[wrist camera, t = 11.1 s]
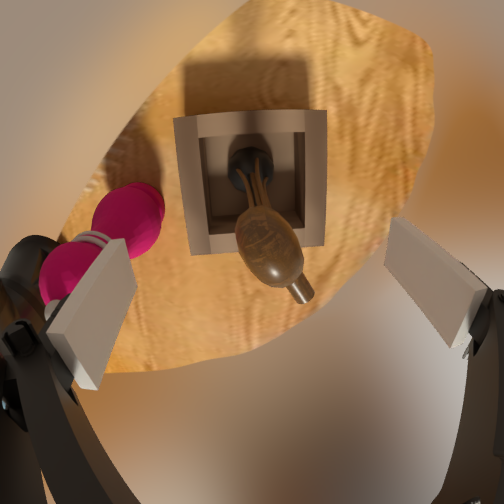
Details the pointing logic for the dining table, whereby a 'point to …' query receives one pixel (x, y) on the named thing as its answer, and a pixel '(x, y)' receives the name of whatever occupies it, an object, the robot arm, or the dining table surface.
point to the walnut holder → (279, 190)
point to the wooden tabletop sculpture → (266, 228)
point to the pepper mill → (103, 239)
